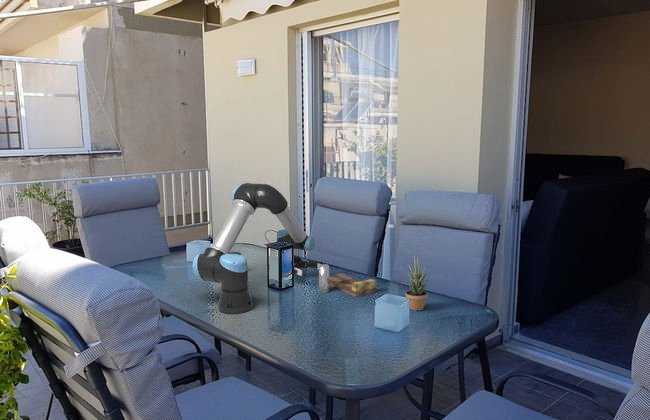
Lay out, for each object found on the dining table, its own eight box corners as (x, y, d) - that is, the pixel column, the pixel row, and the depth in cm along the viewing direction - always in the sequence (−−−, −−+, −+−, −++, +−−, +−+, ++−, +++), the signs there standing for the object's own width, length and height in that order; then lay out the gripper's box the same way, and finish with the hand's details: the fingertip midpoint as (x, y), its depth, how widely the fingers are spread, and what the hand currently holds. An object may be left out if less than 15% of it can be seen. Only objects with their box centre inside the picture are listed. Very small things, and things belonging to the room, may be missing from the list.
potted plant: (413, 303, 232) (414, 249, 228) (431, 308, 225) (432, 253, 222) (400, 309, 225) (400, 253, 221) (418, 314, 219) (419, 257, 215)
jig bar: (355, 296, 242) (355, 284, 242) (321, 281, 268) (321, 270, 267) (376, 292, 249) (376, 280, 248) (341, 277, 274) (341, 266, 273)
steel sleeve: (322, 293, 247) (322, 267, 245) (317, 291, 252) (316, 265, 250) (331, 292, 250) (331, 265, 248) (325, 289, 254) (325, 263, 252)
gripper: (313, 265, 283) (334, 274, 265) (271, 272, 270) (291, 282, 252) (312, 251, 282) (334, 260, 264) (271, 258, 268) (291, 267, 251)
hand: (313, 271), depth 258 cm, fingers open, 13 cm apart
